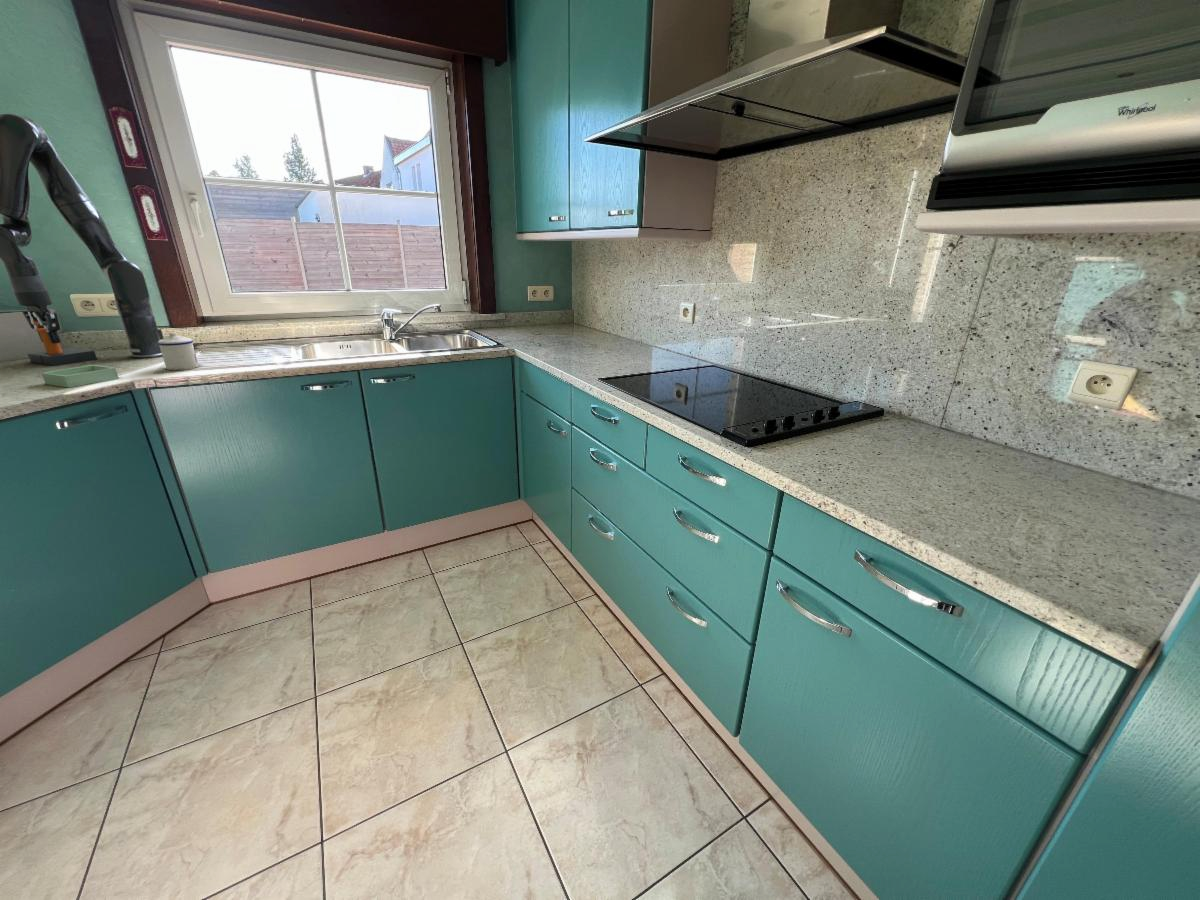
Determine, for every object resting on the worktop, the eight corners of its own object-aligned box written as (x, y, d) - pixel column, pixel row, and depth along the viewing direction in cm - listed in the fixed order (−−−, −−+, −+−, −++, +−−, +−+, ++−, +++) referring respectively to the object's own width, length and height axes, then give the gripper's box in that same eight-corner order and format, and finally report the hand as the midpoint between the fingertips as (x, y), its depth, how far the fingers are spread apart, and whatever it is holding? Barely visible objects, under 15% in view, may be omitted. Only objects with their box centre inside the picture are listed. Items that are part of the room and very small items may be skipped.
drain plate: (75, 356, 177) (72, 347, 176) (97, 359, 174) (94, 350, 173) (30, 362, 166) (26, 353, 165) (52, 365, 163) (49, 356, 162)
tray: (96, 375, 153) (93, 364, 152) (118, 378, 151) (115, 367, 149) (45, 384, 143) (41, 372, 141) (68, 387, 140) (64, 376, 139)
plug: (60, 353, 171) (50, 327, 168) (69, 354, 169) (59, 328, 166) (42, 355, 167) (32, 328, 163) (50, 356, 165) (40, 329, 162)
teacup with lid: (205, 366, 168) (196, 332, 164) (175, 371, 160) (164, 335, 156) (185, 362, 173) (175, 329, 168) (154, 367, 165) (143, 332, 161)
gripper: (58, 290, 161) (78, 342, 168) (32, 288, 165) (52, 339, 172) (27, 292, 155) (50, 346, 161) (1, 290, 159) (23, 342, 165)
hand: (51, 342), depth 167 cm, fingers closed on plug, 4 cm apart
